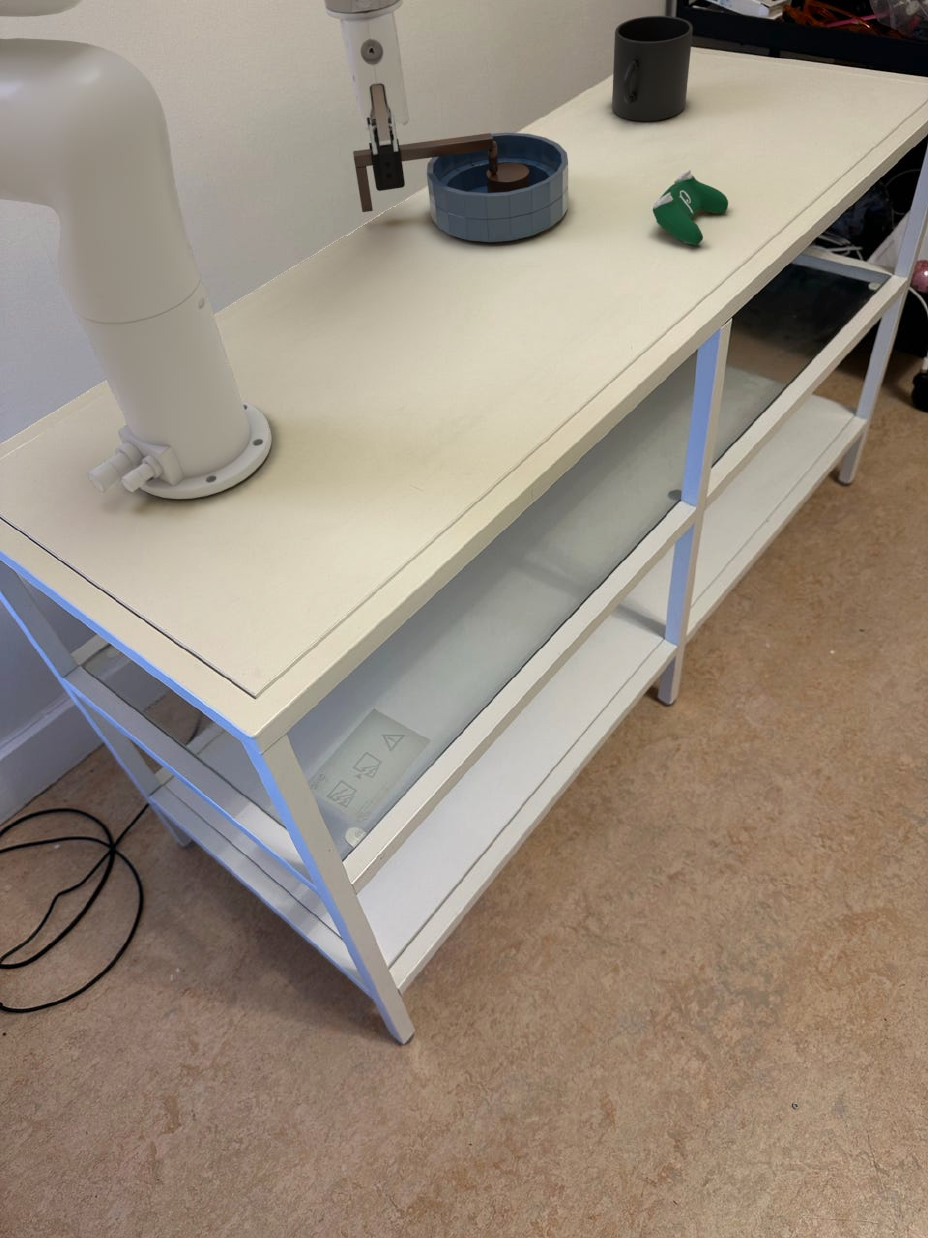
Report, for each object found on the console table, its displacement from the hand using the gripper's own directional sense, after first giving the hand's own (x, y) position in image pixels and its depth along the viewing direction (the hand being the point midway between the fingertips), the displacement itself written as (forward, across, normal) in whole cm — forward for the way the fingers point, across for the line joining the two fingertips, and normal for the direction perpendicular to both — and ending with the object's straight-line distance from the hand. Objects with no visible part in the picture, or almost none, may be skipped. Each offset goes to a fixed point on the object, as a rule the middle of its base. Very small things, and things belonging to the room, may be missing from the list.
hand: (389, 182), depth 100 cm
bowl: (+4, -2, -12) cm, 13 cm away
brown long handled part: (+3, 0, -6) cm, 7 cm away
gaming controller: (+5, -11, -31) cm, 33 cm away
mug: (+5, +20, -34) cm, 40 cm away
